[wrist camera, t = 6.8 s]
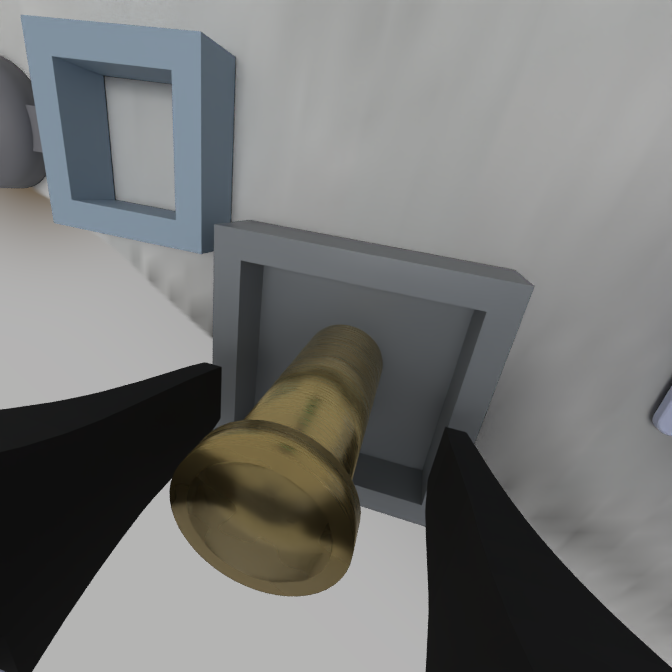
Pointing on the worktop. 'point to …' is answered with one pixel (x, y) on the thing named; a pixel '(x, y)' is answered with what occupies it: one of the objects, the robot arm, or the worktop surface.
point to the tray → (381, 325)
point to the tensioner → (92, 126)
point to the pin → (286, 473)
